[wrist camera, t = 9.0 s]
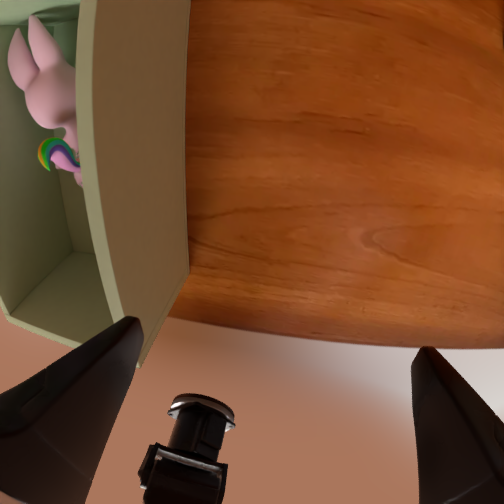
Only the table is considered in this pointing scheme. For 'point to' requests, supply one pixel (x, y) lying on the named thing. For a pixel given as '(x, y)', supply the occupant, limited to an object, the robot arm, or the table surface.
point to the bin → (97, 173)
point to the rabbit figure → (47, 93)
